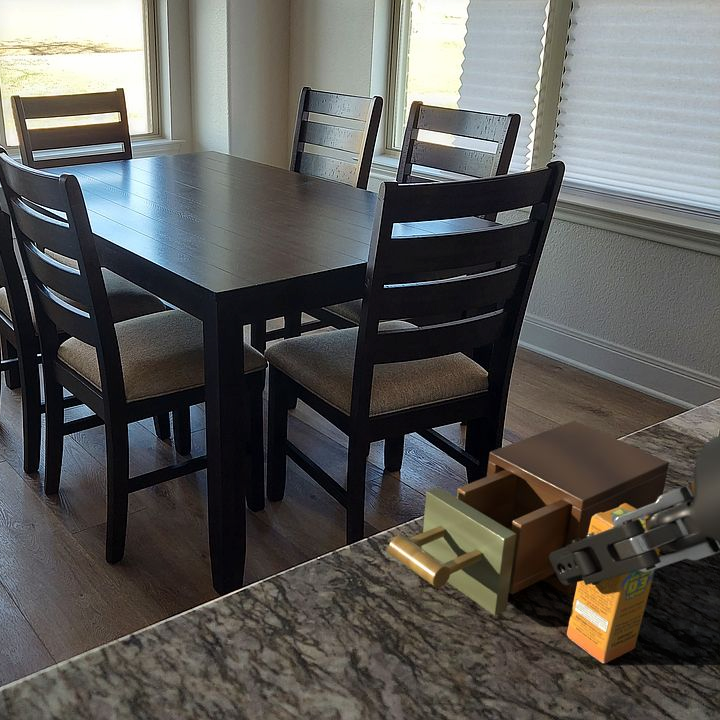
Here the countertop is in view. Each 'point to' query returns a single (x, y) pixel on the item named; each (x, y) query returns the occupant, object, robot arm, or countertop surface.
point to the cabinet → (583, 474)
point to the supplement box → (610, 603)
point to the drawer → (487, 538)
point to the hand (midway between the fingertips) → (596, 553)
